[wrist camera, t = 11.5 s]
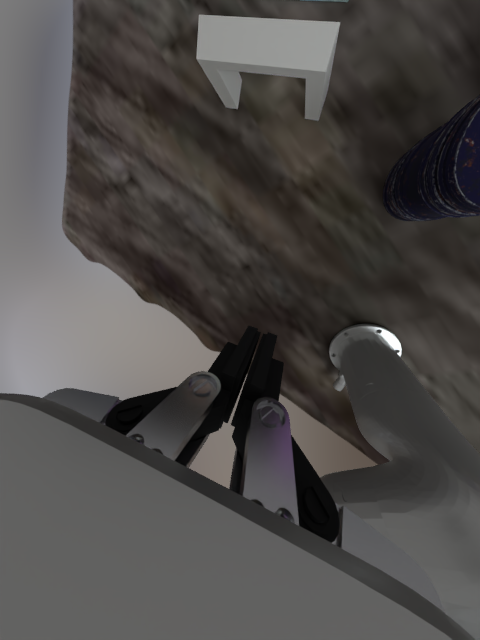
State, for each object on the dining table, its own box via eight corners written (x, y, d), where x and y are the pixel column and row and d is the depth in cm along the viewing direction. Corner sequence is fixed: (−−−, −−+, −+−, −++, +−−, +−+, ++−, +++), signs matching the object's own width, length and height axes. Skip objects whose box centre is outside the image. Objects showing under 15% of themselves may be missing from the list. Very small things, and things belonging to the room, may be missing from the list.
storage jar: (424, 234, 28) (530, 235, 15) (366, 204, 28) (419, 182, 15) (497, 153, 23) (755, 50, 10) (424, 120, 23) (576, -19, 10)
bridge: (318, 120, 26) (325, 71, 18) (225, 107, 28) (196, 59, 20) (327, 90, 24) (340, 22, 17) (229, 78, 27) (199, 14, 19)
